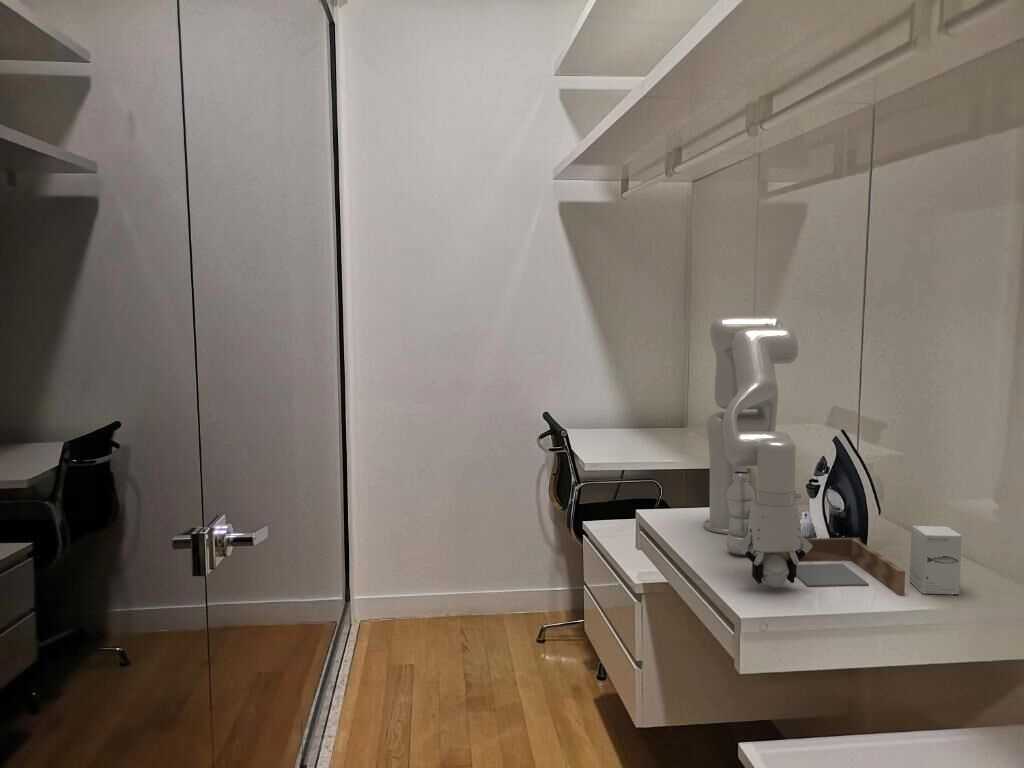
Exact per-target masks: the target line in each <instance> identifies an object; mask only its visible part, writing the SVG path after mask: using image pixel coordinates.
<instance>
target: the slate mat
mask: <svg viewBox="0 0 1024 768" xmlns="http://www.w3.org/2000/svg"><path fill="white" fill-rule="evenodd" d="M796 578H798V580H799V581H801V583H803V584H804V585H805V586H806V587H807V588H810V587H812V588H814V587H815V588H817V587H818V588H819V587H826V588H827V587H861V586H863V587H866V586H869V585H870V583H869V582H868V581H866V580H865V579H863V578H862V577H861V576H859V575H858V574H857V573H855V572H854V571H853V570H852V569H850V568H849V567H847V566H846V565H845V564H844V563H819V564H817V563H815V564H813V563H812V564H810V563H809V564H797V569H796Z"/></svg>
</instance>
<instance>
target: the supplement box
mask: <svg viewBox="0 0 1024 768" xmlns="http://www.w3.org/2000/svg"><path fill="white" fill-rule="evenodd" d="M910 529H911V531H910V556H909V557H910V561H909V562H910V563H909V583H910V582H911V583H912V584H913V585H914V586H915V587H916V588H917V589H916V588H915V587H914V588H915V589H916V590H917V591H919V593H921V594H922V593H923V594H922V595H925V594H926V595H927V594H928V595H929V594H934V595H937V594H938V595H953V594H952V593H954V594H955V593H956V594H959V595H960V590H961V589H960V587H961V586H960V585H961V583H960V582H961V579H960V578H961V560H962V559H961V557H962V540H963V539H962V538H963V537H962V536H963V535H961V534H960V533H958V532H957V531H955V530H953V529H952V528H951V527H949V526H944V525H943V526H938V525H937V526H933V525H911V528H910ZM911 583H910V584H911ZM912 584H911V585H912Z"/></svg>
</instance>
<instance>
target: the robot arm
mask: <svg viewBox="0 0 1024 768" xmlns="http://www.w3.org/2000/svg"><path fill="white" fill-rule="evenodd" d="M709 331H710V333H709V334H710V335H709V336H710V341H711V345H712V347H713V349H714V354H715V377H714V401H715V403H716V406H717V407H719V408H721V409H722V410H723V409H724V410H725V411H719V412H714V413H712V414H711V415H710V416H709V417H708V418H707V421H706V427H705V428H706V436H707V442H708V449H709V451H708V452H709V518H708V519H706V520H705V521H704V522H703V528H705V529H706V530H707V531H709V532H712V533H717V534H722V535H723V534H724V535H728V531H729V508H728V501H727V491H728V489H729V487H730V486H731V485H732V484H733V482H734V480H733V472H735V471H745V472H748V470H747V469H748V467H756V501H755V502H753V503H752V507H751V511H750V517H749V525H748V535H747V536H746V537H745V538H744V539H743V540H742V541H741V542H740V543H739V544H738V545H737V548H738V549H739V550H740V551H741V552H742V553H743V554H744V555H743V556H745V557H747V559H748V560H749V561H750V562H751V565H752V566H751V576H752V578H753V579H754V580H755V582H756V583H757V584H758V585H760V584H763V578H762V565H761V563H760V562H761V560H762V559H763V555H764V553H770V552H786V553H787V555H788V560H787V561H786V563H787V567H788V568H789V574H788V575H787V579H786V581H788V582H789V583H791V584H794V583H795V578H797V577H796V569H797V565H799V563H800V562H801V561H800V560H801V559H802V558H803V557H804V556H805V554H806V553H807V552H808V551H809V550H810V549H811V548H812V547H813V546H812V544H811V543H810V542H809V541H808V540H806V539H807V538H805V537H804V536H803V535H802V526H801V525H802V524H801V517H800V511H799V507H798V504H797V502H796V501H797V499H801V498H802V492H801V491H797V490H796V459H797V458H796V457H797V456H796V453H797V450H796V449H797V448H796V444H795V443H794V440H793V439H792V438H791V437H790V435H789V433H786V432H783V431H776V429H777V425H776V424H777V416H778V414H777V413H778V405H779V386H778V383H777V382H778V381H777V375H776V370H775V366H774V365H779V364H780V365H784V364H787V365H788V364H792V363H794V362H795V361H796V360H797V357H798V354H799V343H798V339H797V336H796V333H795V331H794V330H793V328H792V327H791V326H790V325H789V324H788V323H787V322H786V320H784V319H783V318H782V317H780V316H777V315H737V316H736V315H735V316H733V315H732V316H722V317H717V318H716V319H714V320H713V321H712V323H711V324H710V329H709ZM747 410H748V411H747ZM750 410H751V411H750ZM752 410H753V411H752ZM801 543H802V546H801ZM748 545H750V546H753V549H754V550H753V552H752V553H751V552H750V551H749V550H748V549H747V546H748ZM795 551H796V552H795Z"/></svg>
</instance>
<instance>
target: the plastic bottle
mask: <svg viewBox="0 0 1024 768" xmlns="http://www.w3.org/2000/svg"><path fill="white" fill-rule="evenodd" d="M733 480H734V482H733V484H732V485H731V486H730V487H729V489H728V491H727V501H728V508H729V531H728V534H727V536H726V548H727V550H728V552H729V553H731V554H732V555H737V556H745V555H744V554H743V553H742V552H741V551H740V550H739V549H738V548H737V545H738V544H739V543H740V542H741V541H742V540H743V539H744V538H745V537H746V536H747V535H748V525H749V517H750V511H751V507H752V503H753V502H756V493H755V490H754V488H753V487H752V486H751V484H750V483H749V482H750V480H751V478H750V472H749V471H747V472H745V471H735V472H733ZM747 549H748V550H749V551H750V552H751V553H752V552H753V550H754V549H753V546H750V545H748V546H747Z"/></svg>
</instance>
